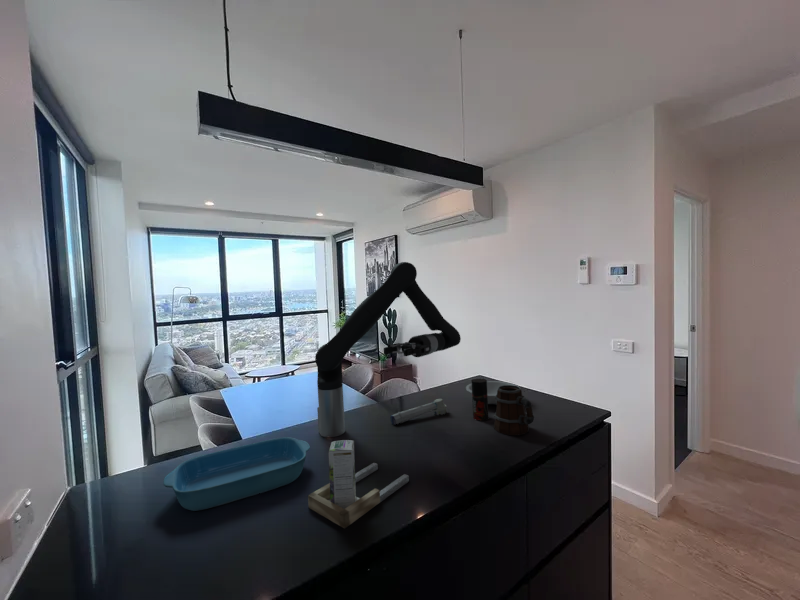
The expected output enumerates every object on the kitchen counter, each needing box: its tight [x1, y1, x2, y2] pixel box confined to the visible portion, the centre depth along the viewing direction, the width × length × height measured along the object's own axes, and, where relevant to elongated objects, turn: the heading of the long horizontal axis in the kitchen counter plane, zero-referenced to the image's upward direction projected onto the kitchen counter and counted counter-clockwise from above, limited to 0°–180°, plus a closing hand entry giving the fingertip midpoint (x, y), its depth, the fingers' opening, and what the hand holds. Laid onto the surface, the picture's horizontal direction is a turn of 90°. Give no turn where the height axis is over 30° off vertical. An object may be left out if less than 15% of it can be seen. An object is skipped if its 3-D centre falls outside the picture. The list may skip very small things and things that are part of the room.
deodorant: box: [470, 378, 490, 422], centre depth 136 cm, size 6×6×15 cm
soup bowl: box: [465, 380, 522, 405], centre depth 155 cm, size 24×24×7 cm
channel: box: [355, 462, 410, 503], centre depth 92 cm, size 12×13×2 cm
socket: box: [307, 482, 381, 529], centre depth 83 cm, size 12×13×3 cm
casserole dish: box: [163, 436, 311, 512], centre depth 96 cm, size 37×22×7 cm, turn 121°
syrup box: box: [328, 439, 357, 509], centre depth 83 cm, size 6×6×14 cm
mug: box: [493, 385, 535, 436], centre depth 122 cm, size 16×12×15 cm
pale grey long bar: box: [389, 398, 448, 426], centre depth 140 cm, size 5×7×25 cm
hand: (394, 352), depth 112 cm, fingers open, 8 cm apart
